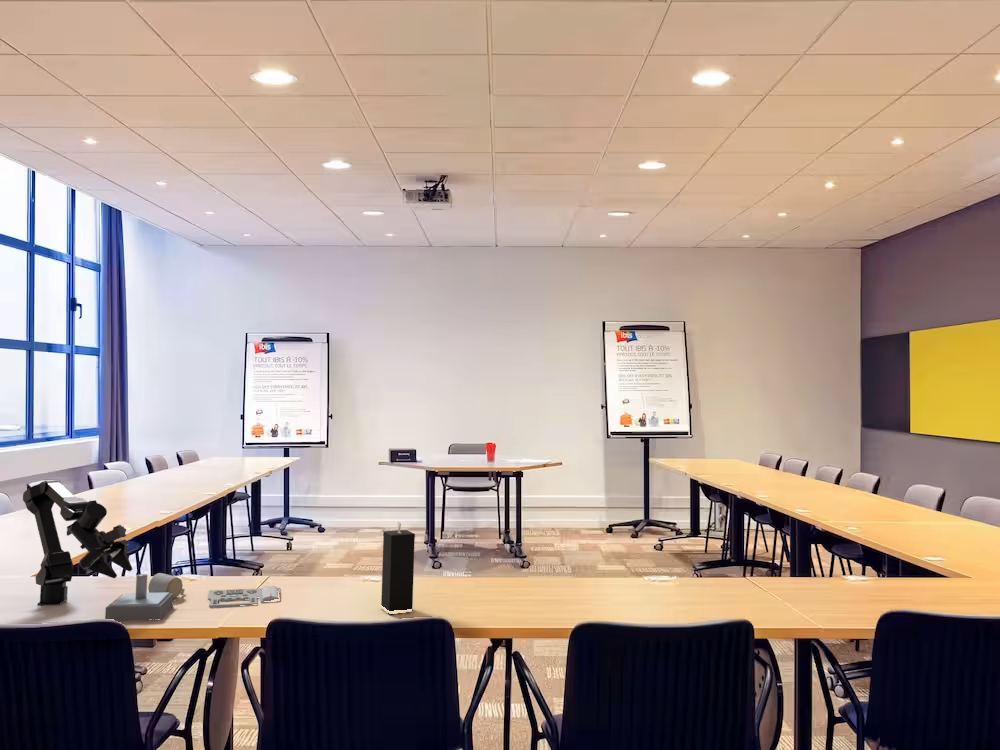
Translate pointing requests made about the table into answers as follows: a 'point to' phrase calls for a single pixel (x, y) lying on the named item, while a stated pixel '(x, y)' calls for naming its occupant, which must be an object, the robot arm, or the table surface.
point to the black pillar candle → (398, 569)
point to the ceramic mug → (166, 584)
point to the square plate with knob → (140, 595)
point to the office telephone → (242, 595)
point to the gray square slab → (139, 611)
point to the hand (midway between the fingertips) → (123, 573)
